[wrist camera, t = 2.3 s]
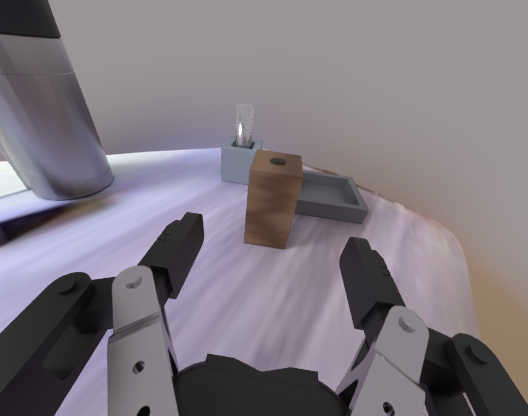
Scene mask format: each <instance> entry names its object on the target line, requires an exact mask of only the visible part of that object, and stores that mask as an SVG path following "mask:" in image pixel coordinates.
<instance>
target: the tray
mask: <svg viewBox="0 0 528 416" xmlns="http://www.w3.org/2000/svg"><path fill="white" fill-rule="evenodd" d="M368 211H369V210H368V208H367V206H366V204H365V202H364V200H363V198H362V196H361V194H360V192H359V190H358V188H357V186H356V184H355V182H354V181H353V178H352V177H346V176H340V175H333V174H327V173H320V172H314V171H307V170H303V180H302V184H301V188H300V192H299V195H298V199H297V203H296V207H295V211H294V213H297V214H303V215H310V216H316V217H323V218H329V219H335V220H342V221H348V222H354V223H361V224H362V222H363V220H364V218H365V216H366V215H367V213H368Z"/></svg>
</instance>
